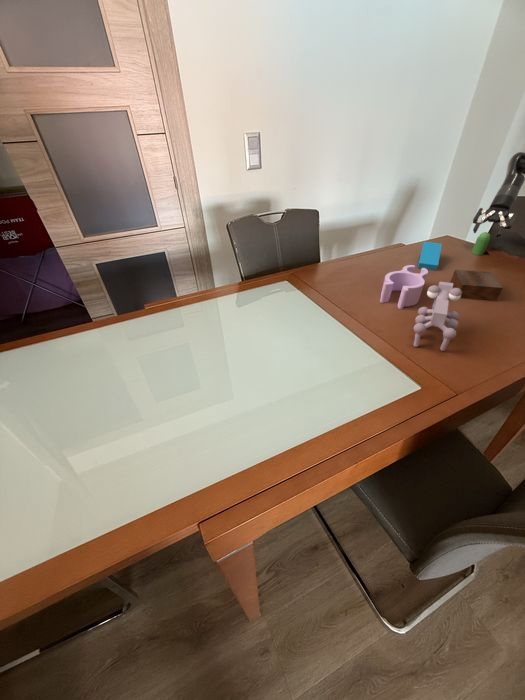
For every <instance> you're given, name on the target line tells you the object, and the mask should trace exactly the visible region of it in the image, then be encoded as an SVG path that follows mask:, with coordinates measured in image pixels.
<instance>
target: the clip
mask: <svg viewBox="0 0 525 700" xmlns="http://www.w3.org/2000/svg"><path fill="white" fill-rule="evenodd" d="M415 268H416V264H415V265H414V264H408V265H404V266H403V267H402V269H401V270H394V271H390V272H388V273H387V274H386V275H385V276H384V279H383V284H382V287H381V293H380V299H379V302H380V303H381V304H382V303H388V302H390V299H391V295H392V292H393V291H400V295H399V298H398V302H397V308H398V309H399V310H403V309H404V307H412V306H415V305H416V304H418V303H419V301H420V298H421V295H422V291H423V289H424V286H425V282H426V279H427V277H428V273H429V271H428V270H429V269H426V268H420V272H419V273H418V272H417V273H416V272H415Z"/></svg>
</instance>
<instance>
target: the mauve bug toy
mask: <svg viewBox="0 0 525 700" xmlns="http://www.w3.org/2000/svg"><path fill="white" fill-rule="evenodd" d="M461 294H462V291H461V290H460V289H459V288H453V283H450V282H446V281H439V282H438V285H435V284H433V285H431V286H429V287H428V288H427V292H426V296H427V297H428V298H430V299H433V303H432V307H431V308H432V309H429V308H428V307H427V306H421V307H420V308H419V309H418V310H417V316H416V317H415V319H414V322H415V324H414V326H413V332H414V333H415V334H414V340H413V347H416V348H418V347H419V346H420V342H421V337H422V334H424V333H425V332H426V330H427V329H428V328H431V327H437V328H438V329H440V330H441V331H442V338H441V339H442V343H441V345H440V347H439V349H440V351H442V352H445V351H446V350H447V348H448V345H449V343H450V342H451V340H452V339H455V337H456V336H457V331H456V329H457V328H458V327H459V322H458V320H459V318H460V314H459V312H457V311H456V310H450V311H448V310H449V303H450V301H451V302H456V301H459V300H460V299H461V298H460V297H461Z"/></svg>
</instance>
